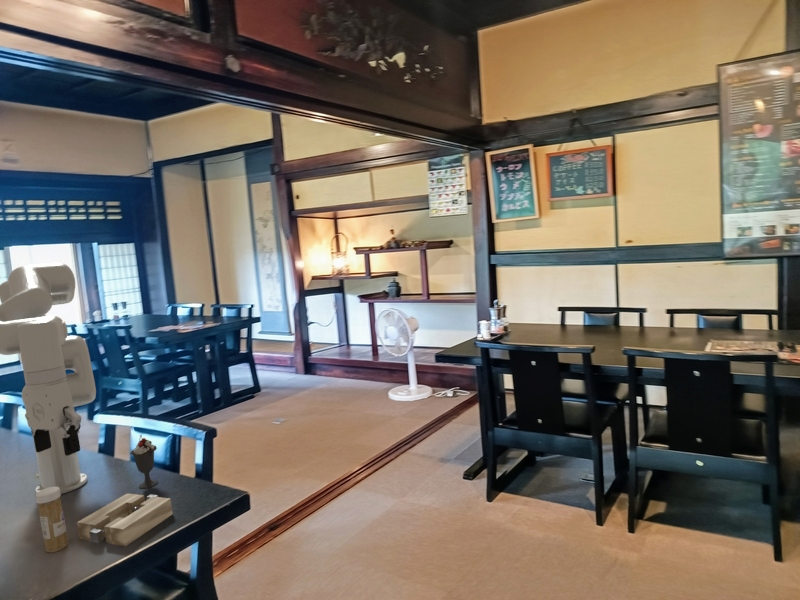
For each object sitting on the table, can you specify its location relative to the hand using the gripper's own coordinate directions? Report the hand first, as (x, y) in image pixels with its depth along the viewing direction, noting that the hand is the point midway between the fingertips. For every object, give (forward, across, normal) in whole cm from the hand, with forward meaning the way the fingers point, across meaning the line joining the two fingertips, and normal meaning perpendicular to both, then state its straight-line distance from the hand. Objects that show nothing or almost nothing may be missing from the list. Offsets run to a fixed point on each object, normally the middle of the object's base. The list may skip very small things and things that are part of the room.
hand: (58, 451), depth 120 cm
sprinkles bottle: (+22, -2, -2) cm, 22 cm away
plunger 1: (+21, +7, +4) cm, 22 cm away
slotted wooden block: (+22, +6, +9) cm, 24 cm away
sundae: (+22, -7, +27) cm, 36 cm away
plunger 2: (+20, +6, +14) cm, 26 cm away
